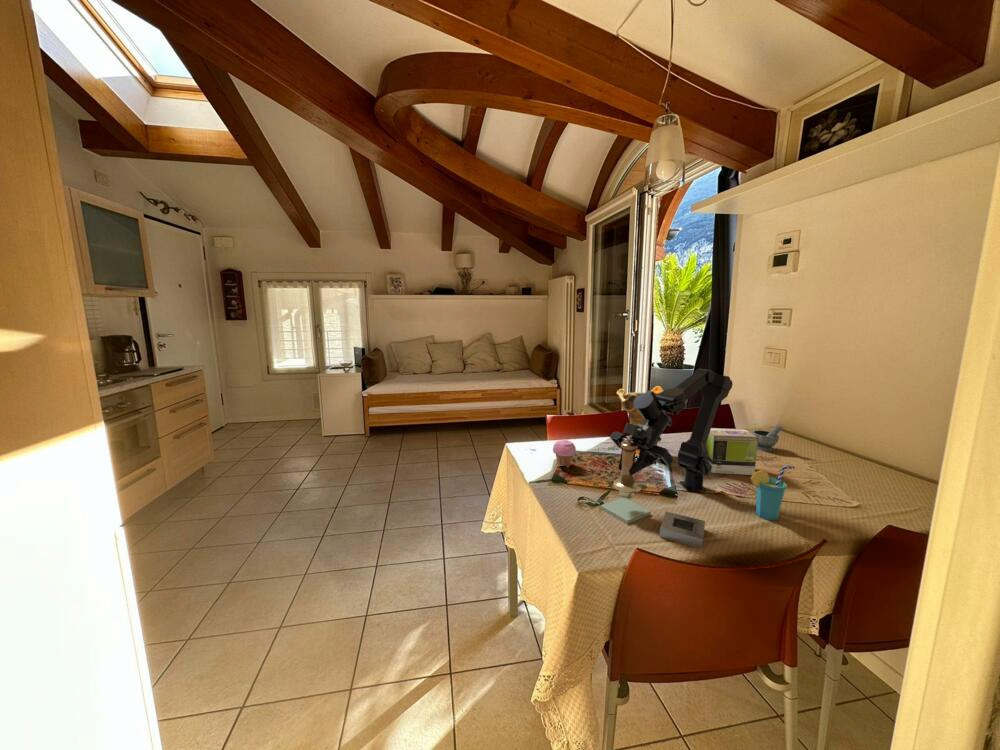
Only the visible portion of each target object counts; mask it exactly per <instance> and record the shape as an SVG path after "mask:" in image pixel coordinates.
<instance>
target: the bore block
mask: <svg viewBox="0 0 1000 750" xmlns="http://www.w3.org/2000/svg"><path fill="white" fill-rule="evenodd" d="M705 527H706V520H703V519H699V518H694V517H691V516H687V515H682V514H678V513H673V512H670V511H665V512H664V515H663V518H662V521H661V525H660V527H659V534H658V535H659V537H658V538H661V539H664V540H665V539H666V540H668V541H673V542H677V543H680V544H684V545H687V546H692V547H695V548H699V549H703V542H704V536H705Z"/></svg>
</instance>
